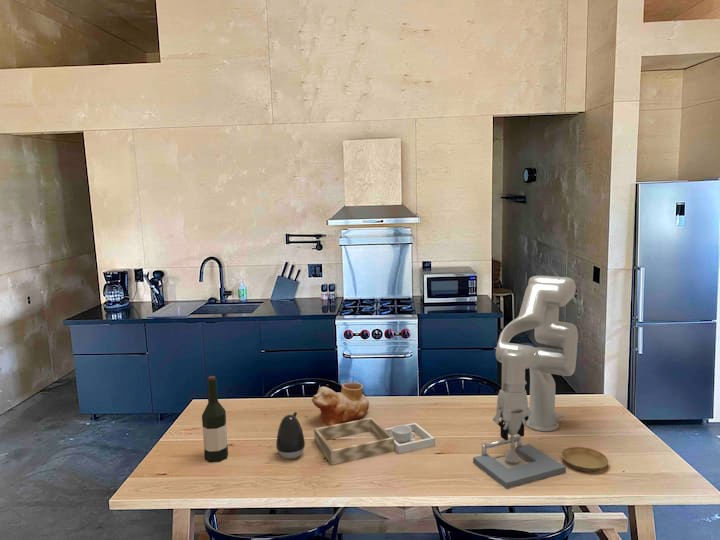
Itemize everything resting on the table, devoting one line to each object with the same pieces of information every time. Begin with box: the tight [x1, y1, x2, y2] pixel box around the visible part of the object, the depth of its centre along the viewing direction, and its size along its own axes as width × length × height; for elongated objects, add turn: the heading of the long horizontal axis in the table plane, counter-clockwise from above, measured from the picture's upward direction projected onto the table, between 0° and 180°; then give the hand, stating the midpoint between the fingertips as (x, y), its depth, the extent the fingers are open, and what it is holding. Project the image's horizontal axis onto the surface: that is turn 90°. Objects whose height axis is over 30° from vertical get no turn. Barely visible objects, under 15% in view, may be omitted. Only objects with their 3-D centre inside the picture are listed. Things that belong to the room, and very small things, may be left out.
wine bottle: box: [201, 375, 229, 464], centre depth 188 cm, size 8×8×30 cm
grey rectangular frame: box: [472, 443, 567, 490], centre depth 178 cm, size 24×18×2 cm
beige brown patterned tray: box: [313, 417, 395, 466], centre depth 196 cm, size 24×20×5 cm
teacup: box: [392, 424, 416, 444], centre depth 200 cm, size 10×10×5 cm
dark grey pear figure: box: [275, 411, 306, 460], centre depth 190 cm, size 10×10×15 cm
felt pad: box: [494, 455, 528, 468], centre depth 182 cm, size 9×9×1 cm
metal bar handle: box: [481, 434, 523, 456], centre depth 186 cm, size 17×2×6 cm, turn 112°
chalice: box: [503, 411, 523, 462], centre depth 180 cm, size 7×7×18 cm
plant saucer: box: [561, 446, 609, 473], centre depth 180 cm, size 15×15×3 cm
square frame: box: [384, 422, 436, 455], centre depth 199 cm, size 15×15×3 cm
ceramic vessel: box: [311, 382, 370, 426], centre depth 221 cm, size 14×26×15 cm, turn 123°
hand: (512, 436), depth 181 cm, fingers closed on chalice, 6 cm apart
